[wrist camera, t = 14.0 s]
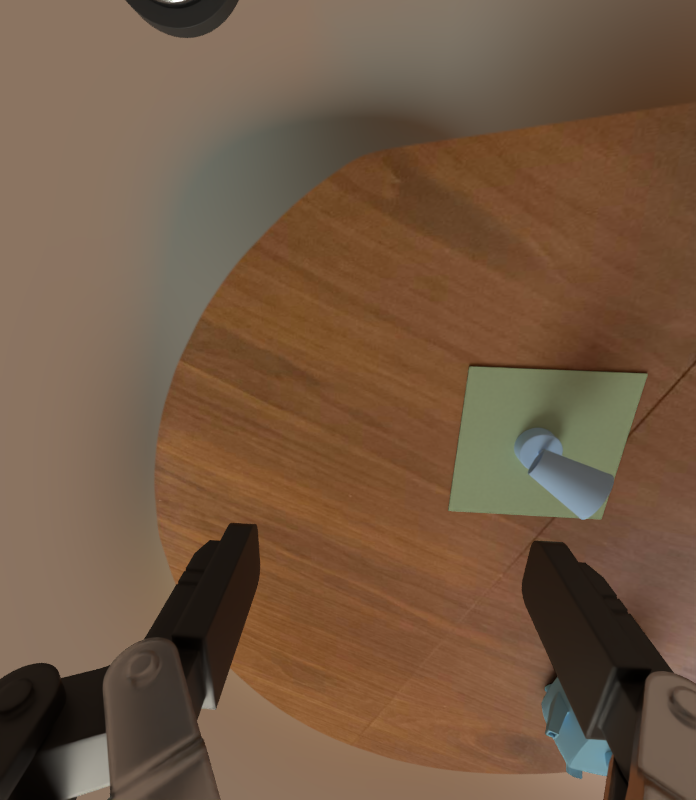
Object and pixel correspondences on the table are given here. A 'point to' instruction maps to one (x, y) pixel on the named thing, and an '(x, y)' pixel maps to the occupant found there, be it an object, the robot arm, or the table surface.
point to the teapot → (572, 735)
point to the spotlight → (562, 473)
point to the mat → (537, 408)
